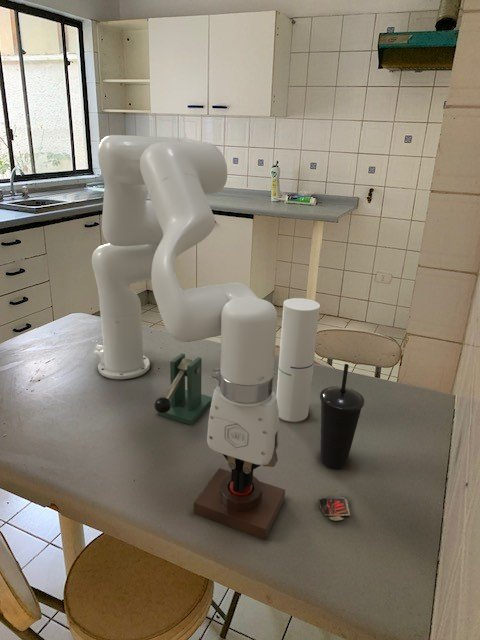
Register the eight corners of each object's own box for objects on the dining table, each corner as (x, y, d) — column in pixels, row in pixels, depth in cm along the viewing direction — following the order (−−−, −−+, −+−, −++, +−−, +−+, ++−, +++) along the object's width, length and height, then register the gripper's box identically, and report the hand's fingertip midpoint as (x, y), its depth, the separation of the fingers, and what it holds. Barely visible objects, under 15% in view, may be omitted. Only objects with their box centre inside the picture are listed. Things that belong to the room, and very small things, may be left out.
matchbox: (315, 501, 76) (315, 498, 76) (343, 496, 77) (344, 493, 77) (327, 522, 72) (328, 520, 72) (357, 517, 73) (357, 514, 73)
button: (225, 498, 73) (225, 489, 72) (235, 483, 76) (235, 475, 75) (246, 505, 71) (247, 497, 71) (255, 490, 74) (256, 482, 74)
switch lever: (167, 418, 90) (163, 409, 88) (153, 414, 91) (149, 405, 89) (197, 369, 98) (194, 359, 96) (184, 365, 99) (180, 355, 97)
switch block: (193, 513, 73) (193, 493, 71) (219, 477, 80) (219, 459, 79) (265, 540, 68) (266, 519, 67) (284, 500, 76) (286, 480, 75)
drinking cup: (327, 479, 81) (340, 379, 74) (304, 453, 88) (315, 358, 80) (363, 468, 84) (379, 371, 77) (338, 444, 90) (351, 352, 83)
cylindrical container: (306, 423, 96) (319, 312, 87) (273, 418, 98) (281, 308, 88) (309, 405, 103) (320, 300, 94) (277, 401, 104) (285, 296, 95)
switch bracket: (191, 425, 95) (190, 374, 90) (157, 415, 97) (156, 365, 93) (213, 401, 103) (214, 354, 99) (182, 393, 106) (181, 346, 102)
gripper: (187, 383, 65) (188, 487, 72) (287, 410, 60) (278, 519, 67) (211, 362, 72) (210, 459, 79) (304, 384, 66) (294, 486, 73)
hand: (241, 486), depth 73 cm, fingers closed
